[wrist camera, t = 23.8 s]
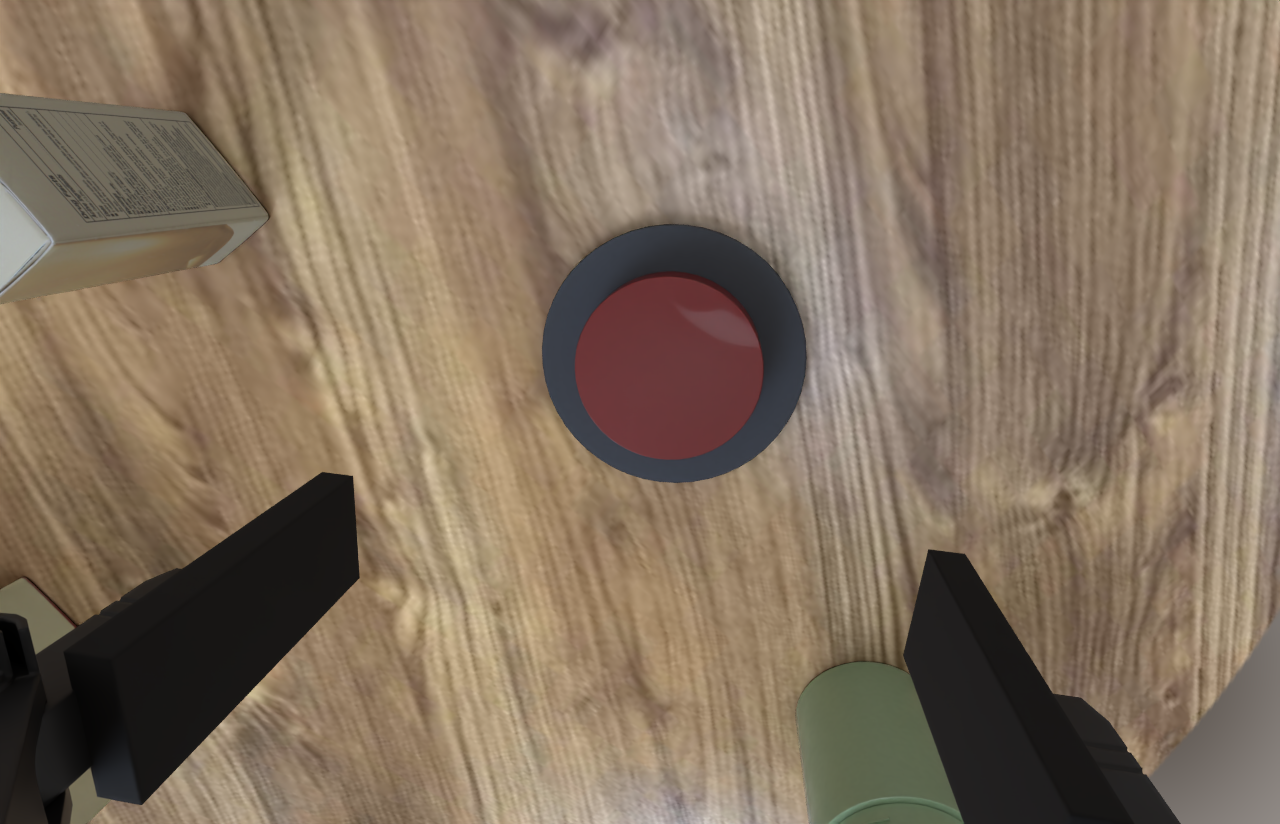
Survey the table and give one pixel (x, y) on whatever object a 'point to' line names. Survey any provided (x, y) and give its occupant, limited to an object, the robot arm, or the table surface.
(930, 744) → the jar
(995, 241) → the table surface
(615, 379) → the lid
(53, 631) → the gift box
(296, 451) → the table surface
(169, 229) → the cosmetic box
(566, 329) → the coaster
